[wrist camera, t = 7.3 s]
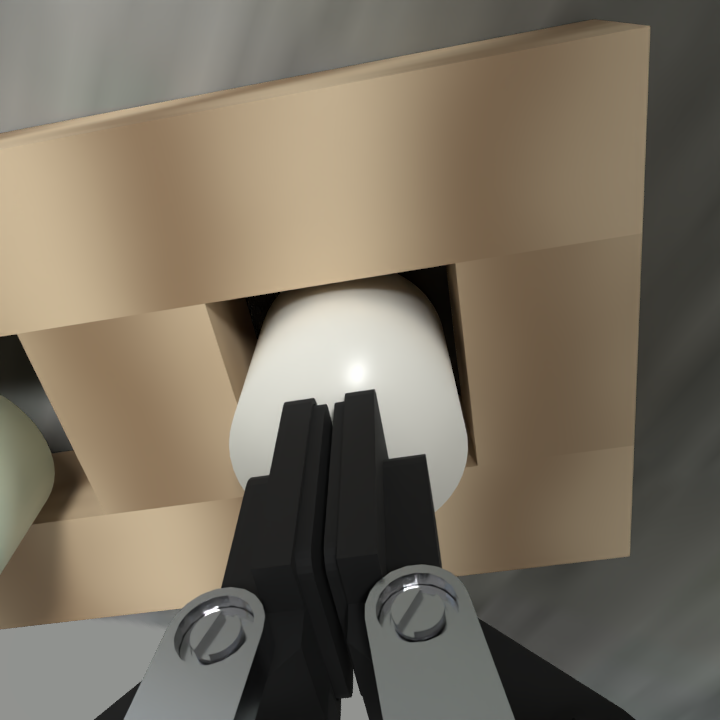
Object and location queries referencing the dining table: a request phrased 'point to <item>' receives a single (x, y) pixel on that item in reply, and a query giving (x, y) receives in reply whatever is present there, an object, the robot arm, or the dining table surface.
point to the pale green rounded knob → (21, 476)
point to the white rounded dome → (355, 373)
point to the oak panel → (324, 266)
